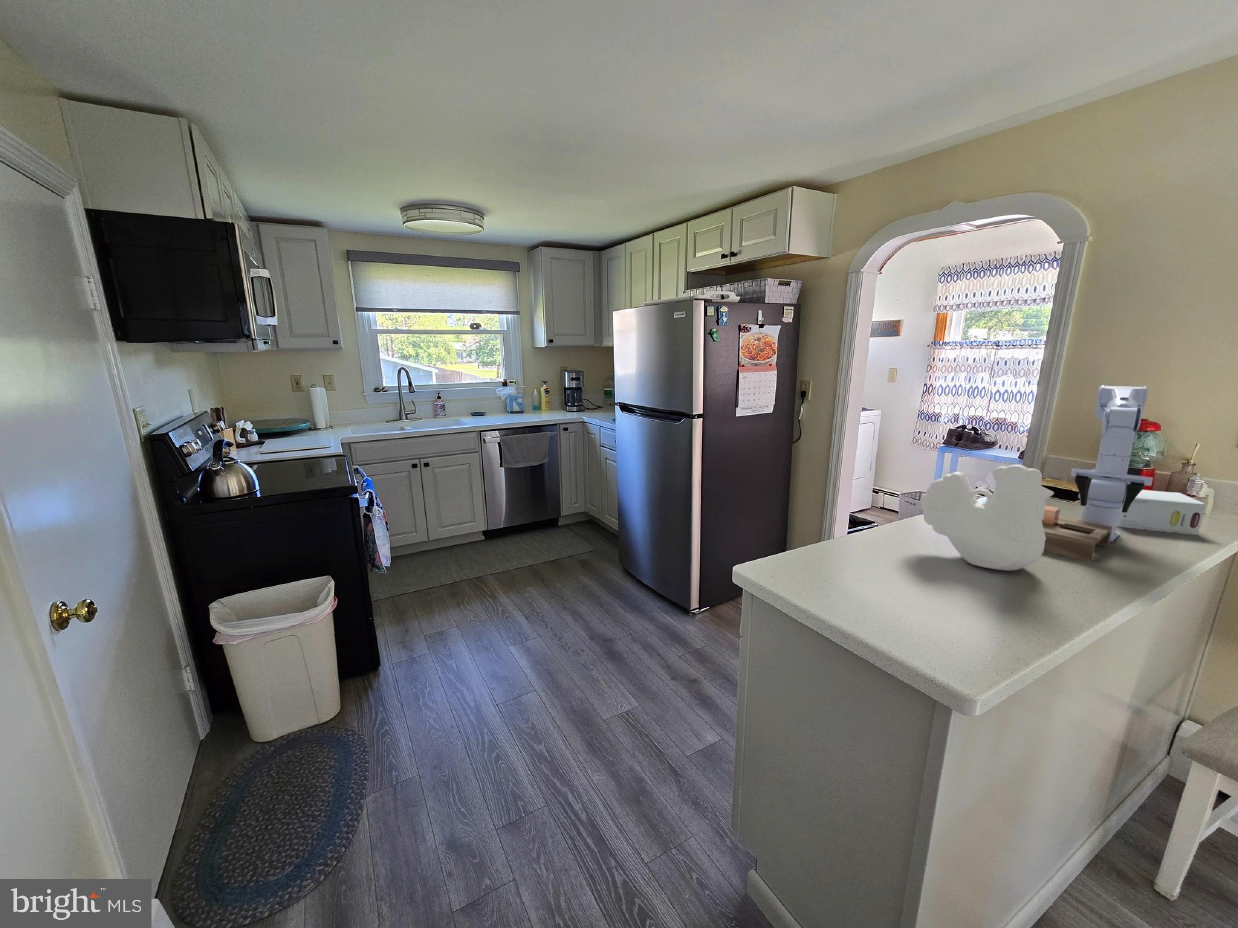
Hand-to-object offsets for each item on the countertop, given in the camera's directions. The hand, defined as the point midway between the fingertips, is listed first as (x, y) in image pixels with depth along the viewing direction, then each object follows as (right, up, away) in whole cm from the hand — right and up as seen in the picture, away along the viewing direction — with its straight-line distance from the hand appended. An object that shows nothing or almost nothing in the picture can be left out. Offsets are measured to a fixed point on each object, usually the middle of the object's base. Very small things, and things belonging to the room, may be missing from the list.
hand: (1103, 508), depth 126 cm
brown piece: (-9, -8, +8) cm, 14 cm away
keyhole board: (-7, -10, +5) cm, 13 cm away
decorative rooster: (-35, -12, -4) cm, 38 cm away
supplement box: (+32, -7, +20) cm, 38 cm away
